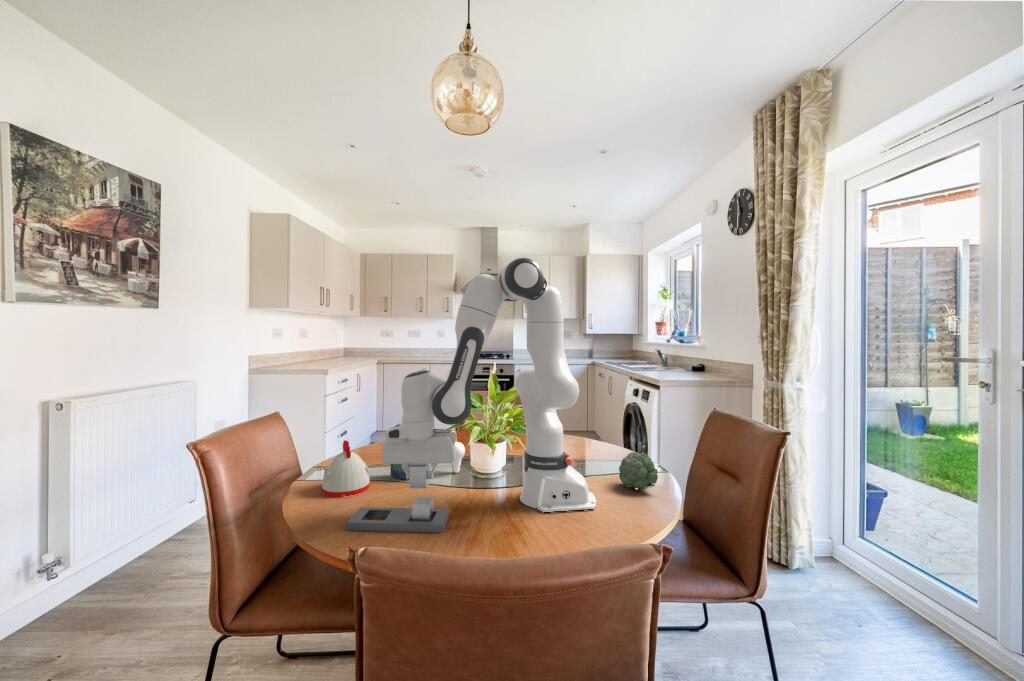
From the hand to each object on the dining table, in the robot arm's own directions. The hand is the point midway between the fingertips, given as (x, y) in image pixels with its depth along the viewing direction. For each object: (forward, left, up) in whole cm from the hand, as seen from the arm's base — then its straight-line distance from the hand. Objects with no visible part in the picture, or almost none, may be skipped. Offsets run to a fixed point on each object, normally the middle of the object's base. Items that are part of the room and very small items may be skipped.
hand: (420, 478), depth 112 cm
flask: (+13, -24, -9) cm, 29 cm away
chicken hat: (+27, -13, -9) cm, 31 cm away
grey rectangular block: (0, 0, -2) cm, 2 cm away
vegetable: (-67, -21, -9) cm, 71 cm away
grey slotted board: (+3, +9, -9) cm, 13 cm away
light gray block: (-3, +9, -9) cm, 13 cm away
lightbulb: (-5, -30, -9) cm, 32 cm away
